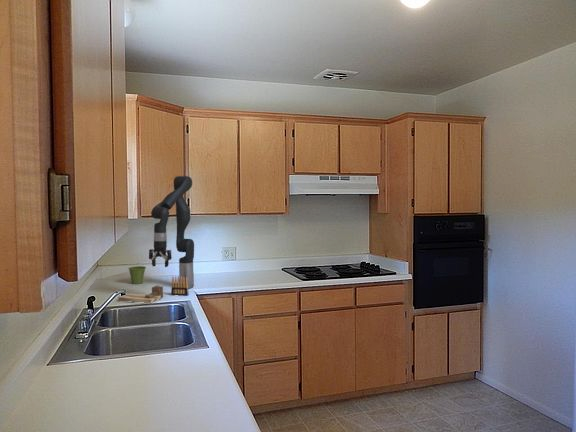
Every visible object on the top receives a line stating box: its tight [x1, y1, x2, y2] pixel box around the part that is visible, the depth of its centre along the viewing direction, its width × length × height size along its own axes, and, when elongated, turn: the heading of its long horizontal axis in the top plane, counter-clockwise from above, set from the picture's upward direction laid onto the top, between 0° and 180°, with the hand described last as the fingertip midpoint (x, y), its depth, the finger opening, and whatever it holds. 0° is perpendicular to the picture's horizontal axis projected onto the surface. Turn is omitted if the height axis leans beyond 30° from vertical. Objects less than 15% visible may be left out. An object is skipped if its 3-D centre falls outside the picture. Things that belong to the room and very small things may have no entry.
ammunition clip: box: [170, 275, 189, 297], centre depth 248 cm, size 11×2×12 cm, turn 82°
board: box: [117, 293, 162, 304], centre depth 235 cm, size 10×22×2 cm, turn 74°
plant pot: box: [128, 265, 147, 285], centre depth 283 cm, size 12×12×11 cm
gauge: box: [144, 285, 164, 299], centre depth 236 cm, size 12×5×8 cm, turn 164°
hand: (160, 266), depth 242 cm, fingers open, 8 cm apart
